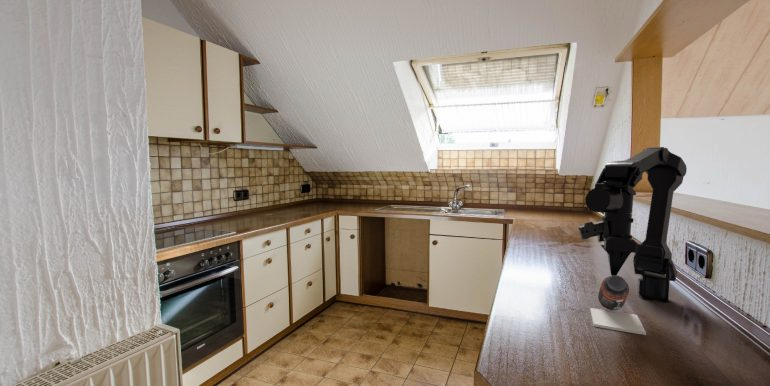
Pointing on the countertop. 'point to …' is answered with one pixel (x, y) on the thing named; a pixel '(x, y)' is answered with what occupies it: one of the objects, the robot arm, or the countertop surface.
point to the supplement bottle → (613, 292)
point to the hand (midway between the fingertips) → (613, 275)
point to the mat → (617, 321)
